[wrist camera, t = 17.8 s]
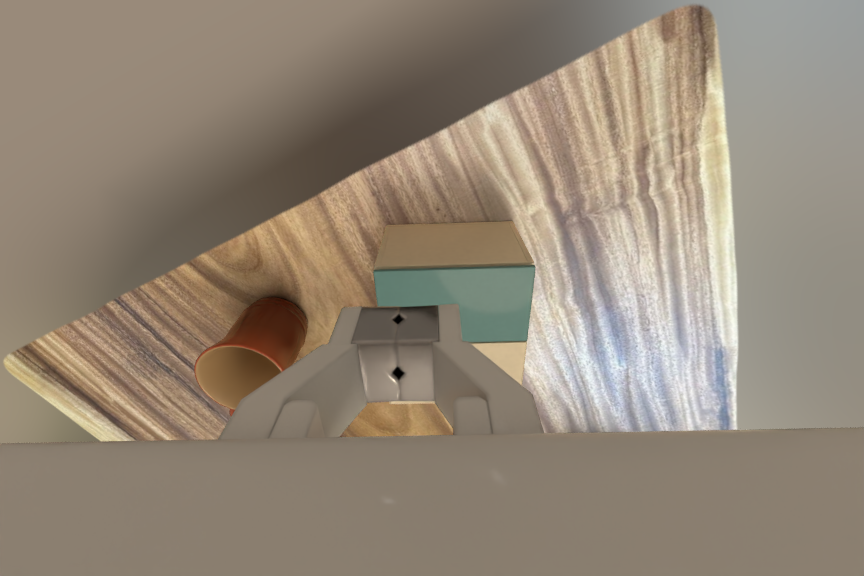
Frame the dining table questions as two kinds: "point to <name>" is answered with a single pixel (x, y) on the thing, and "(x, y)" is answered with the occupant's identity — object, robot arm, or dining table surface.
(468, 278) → the flap
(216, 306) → the dining table surface
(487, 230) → the carton
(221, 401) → the mug
